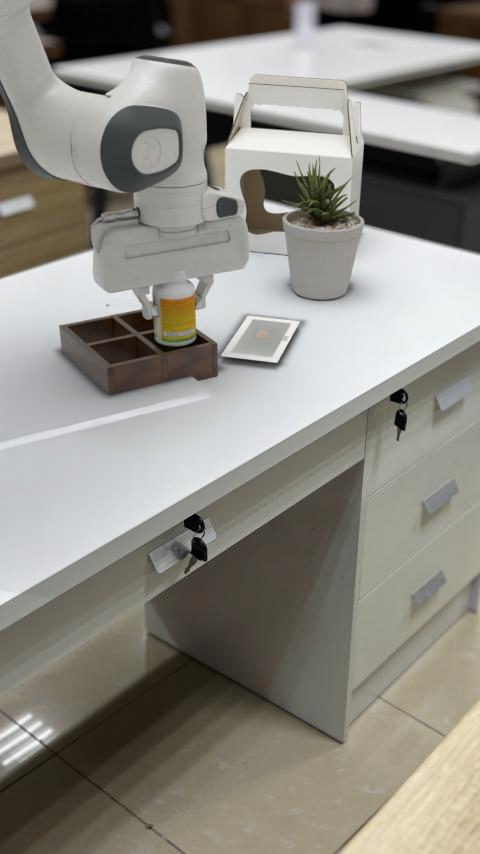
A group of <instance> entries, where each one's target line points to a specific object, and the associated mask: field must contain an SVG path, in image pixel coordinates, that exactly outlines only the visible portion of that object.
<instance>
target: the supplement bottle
mask: <svg viewBox="0 0 480 854" xmlns="http://www.w3.org/2000/svg"><path fill="white" fill-rule="evenodd" d="M186 278H187V277H186V274H185V270H180V271H175V272H174V278H173V281H172V282H170V283H164V284H159V285H153V286H151V287H152V288H151V294H152V295H151V296H152V301H153V302H154V303H155V304H157V305H158V314H159V317H158V318H154V335H155V340H156V341H157V342H158V343H160V344H162V345H166V346H184V345H188V344H190V343H192V342H193V341H194V340H195V339H196V329H197V318H196V317H197V316H196V315H197V313H196V312H197V310H195V290H196V287H195V285H194V283H193V282H192V281H191V280H190V279H186Z"/></svg>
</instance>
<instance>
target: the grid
mask: <svg viewBox="0 0 480 854" xmlns="http://www.w3.org/2000/svg"><path fill="white" fill-rule="evenodd" d="M58 328H59V338H60V348H61V349H60V350H61V352H62V353H63V354H64V355H65V356H66V357H67V358H68V359H70V361H71V362H73V363H74V364H75V365H76V366H77V367H78V368H79V369H80V370H81V371H82V372H83V373H85V375H87V376H88V377H89V378H90V379H91V380H92V381H93V382H94V383H95V384H96V385H97V386H99V388H101V389H102V391H104V392H105V394H107V396H113V395H117V394H122V393H125V392H130V391H134V390H138V389H143V388H147V387H151V386H155V385H159V384H162V383H167V382H172V381H176V380H180V379H185V378H188V377H192V378H194V379H195V381H198V382H199V381H202V380H206V379H211V378H215V377H218V376H219V362H218V361H219V358H218V357H219V353H218V352H219V351H218V347H219V346H218V342H216V340H213V339H212V338H211V337H209V336H208V335H207V334H205V333H204V332H202V331H201V330H199V329H198V328H196V339H195V340H194V341H193V342H192V343H190V344H188V345H184V346H166V345H162V344H160V343H158V342H157V341H156V340H155V335H154V319H150V320H147V319H145V318H144V317H143V315H142V308H141V309H136V310H130V311H125V312H121V313H116V314H110V315H105V316H100V317H95V318H91V319H86V320H85V319H84V320H80V321H75V322H70V323H65V324H59V325H58Z"/></svg>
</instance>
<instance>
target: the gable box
mask: <svg viewBox="0 0 480 854" xmlns="http://www.w3.org/2000/svg"><path fill="white" fill-rule="evenodd" d="M348 94H349V93H348V85H347V82H346V81H344V79H336V78H335V79H334V78H319V77H318V78H317V77H303V76H290V75H289V76H288V75H275V74H274V75H272V74H260V73H259V74H258V73H256V74H252V75H251V77H250V79H249V82H248V89H247V91H246V92H245V94H244V95H243V94H242V93H238V92H237V93H235V95H234V97H235V98H234V106H233V107H234V110H233V121H232V122H233V123H232V126H231V129H230V133H229V135H228V138H227V141H226V143H225V146H224V189H225V190H227V191H230V192H232V193H234V194H236V195H237V196H239V197H241V198H242V199H243V200H244V202H245V209H244V213H243V214H242V215H240V216H241V217H243V218H244V220H245V221H246V224H247V228H248V236H249V253H250V252H252V253H261V254H272V255H281V256H288V253H287V244H286V236H285V231H284V228H283V216H284V215H285V214H286V213H288V212H289V211H286V212H279V213H278V212H269V211H268V210H267V209H266V208H265V196H266V186H265V182H264V178H263V175H262V173H261V170H265V171H270V172H275V173H279V174H282V175H286V176H291V177H296V176H295V173H296V175H297V177H301V174H300V171H299V168H298V165H299V167H300V170H301V172H302V174H303V176H304V177H308V174H307V171H308V173H309V163H310V171H311V175H312V164H313V167H314V169H315V164H316V160H317V167H316V172H317V177H318V171H319V157H320V177H322V175H323V177H324V178H325V177H326V175H327V174H328V173H329V172H330V171H331V170H333V169H334V168H335V170H334V171H333V172H332V173H331V174H330V176H329V179H328V180H329V181H331V182H332V183H333V186H334V189H336V188H338V187H339V186H341V185H344V184H345V183H346V182H347V181H348V180H349V179H350V178H352V179H351V180H350V181H349V182H348V183H347V184H346V186H345V187H344V189H343V190H342V192H341V193H340V195H339V196H338V198H339V197H340V196H342V195H344V194H347V195H346V196H344V197H343V198H342V199H341V200H340V201H342V200H343V199H344V198H345V197H347V198H348V199H346V200H345V201H344V202H343V203H342V204H341V205H340V206H339V207H338V208H337V209H342V208H344V207H346V206H348V205H350V204H351V203H352V202H354V201H355V200H356V201H355V202H354V203H353V204H352V205H351V206H350V207H348V208H347V209H345V210H346V211H349V212H355V214H357V215H359V216H360V203H361V191H362V189H361V188H362V175H363V162H364V149H365V147H364V146H365V140H364V137H363V134H362V102H361V101H355V102H354V103H353V100H352V98H349V95H348ZM255 105H257V106H262V105H266V106H280V107H293V108H304V109H305V108H307V109H321V110H322V109H323V110H332V111H339V112H340V113H341V114H342V117H343V119H342V133H333V132H319V131H308V130H307V131H306V130H294V129H281V128H269V127H268V128H266V127H253V126H252V110H253V107H254V106H255ZM296 160H297V162H298V165H297V162H296ZM294 171H295V173H294ZM323 177H322V178H323ZM337 193H338V192H337ZM337 193H336V194H337ZM336 194H334V196H333V198H334V197H335V196H336ZM333 198H332V199H333ZM340 201H339V202H340ZM339 202H338V203H339ZM338 203H337V204H338Z"/></svg>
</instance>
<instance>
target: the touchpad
mask: <svg viewBox="0 0 480 854" xmlns="http://www.w3.org/2000/svg"><path fill="white" fill-rule="evenodd" d="M300 323H301V321H299V320H291V319H283V318H275V317H263V316H256V315H255V316H254V315H247V316H246V318H245V319H244V320H243V322H242V324H241V325H240V326H239V328H238V329H237V331H236V332H235V334H234V336H233V337H232V338H231V340H230V341H229V343H228V344H227V345H226V347H225V348H224V350H223V351H222V353H221V355H220V357H225V358H233V359H241V360H249V361H258V362H267V363H275V364H278V363H279V361H280V358H281V357H282V355H283V354H284V351H285V350H286V348H287V346H288V344H289V342H290V341H291V339H292V337H293V335H294V334H295V332H296V330H297V328H298V326H299V324H300Z"/></svg>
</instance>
